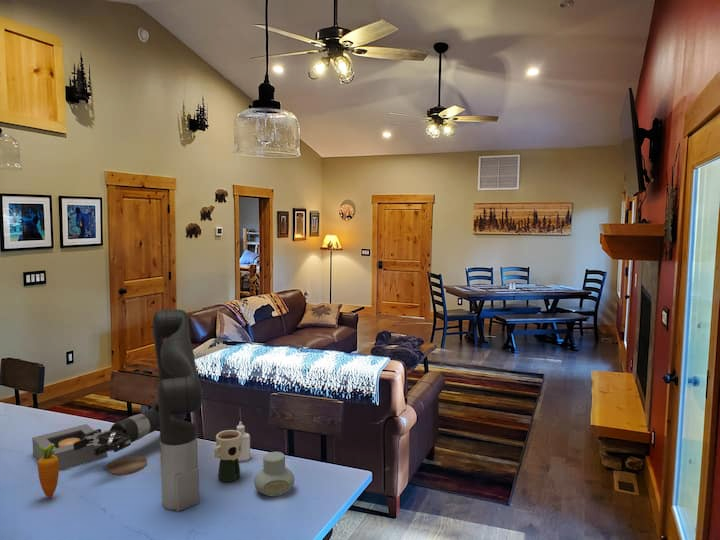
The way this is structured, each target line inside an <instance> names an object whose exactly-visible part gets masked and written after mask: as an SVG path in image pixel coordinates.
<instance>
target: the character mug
mask: <svg viewBox="0 0 720 540" xmlns="http://www.w3.org/2000/svg"><path fill="white" fill-rule="evenodd" d="M242 443H243V439H242V435H241V433H240V432H239V431H237V429H236V430H235V429H226V430H222V431H219V432H218V433H217V434H216V436H215V447H214V458H215V459H219V464H218V466H219V467H218V474H217V478H218V479H220V480H222V481H224V482H233V481H236V480H237V477H238V478H240V477H241V467H240V462H239V460H238V458H239V457H240V455H241V453H242V446H241V445H242Z"/></svg>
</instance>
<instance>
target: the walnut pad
mask: <svg viewBox="0 0 720 540" xmlns="http://www.w3.org/2000/svg"><path fill="white" fill-rule="evenodd" d="M147 465H148V460H147V458H146V457H145V456H142V455H128V456H122V457H120V458H119V457H118V458H117V459H114V460H112V461H111V462H109V463H108V464H107V472H108V473H109V474H110V473H111V475H115V476H124V475H131V474H134V473H137V472H140V471H141V470H144V469H145V468H146V467H147ZM144 467H145V468H144Z"/></svg>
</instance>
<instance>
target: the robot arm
mask: <svg viewBox="0 0 720 540" xmlns="http://www.w3.org/2000/svg"><path fill="white" fill-rule="evenodd" d="M152 332H153V334H152V335H153V342H154V351H155V356H156V363H157V370H158V387H157V402H156V403H155V404H154V405H152V406H151V407H150V408H149V409H148V410H145V411H143V412H140V413H138V414H135V415H132V416H129V417H127V418H123V419H122V420H119V421H116V422H114V423H113V424H112V426H111V427H110V429H108V430H104V431H102V429H101V428H97V429H94V430H95V431H92V432H89V433H87V434H84V435H82V440H80V441H77V442H75V443H74V444H73V448H74V450H79V449H81V448H83V447H86V446H88V445H94V446H98V445H101V446H99V447H96V448H95V449H94V455H95V456H98V455H101V454H103V453H105V452H107V453H109V452H113V453H117V452H119V451H122V450H124V449H125V448H127V447H129V446H131V444H132V443H134V442H136V441H138V440H140V439H142V438H143V437H145V436H147V435H149V434H151V433H153V432H155V431H157V430H159V445H160V446H159V447H160V448H159V449H160V481H161V483H160V486H161V506H162V507H163V508H164V509H167V510H171V511H176V512H180V511H183V510H185V509H188V508H190V507H192V506H195V505H197V504H199V503H200V473H199V471H200V469H199V460H198V459H199V458H198V453H199V451H198V428H197V425H196V424H195V423H194V422H190V421H187V420H185V418H186V414H189V413H193V412H197V411H198V410H199V409H200V408H201V407H202V403H203V396H204V395H203V389H202V385H201V380H200V378H199V374H198V371H197V369H196V361H195V354H194V348H193V345H192V341H191V335H190V333H191V332H190V323H189V316H188V313H187V312H186V311H185V310H183V309H165V310H163V309H162V310H157V311H155V312H154V314H153V317H152ZM165 339H166V340H165ZM96 439H99V442H96ZM93 440H94V441H93ZM91 441H93V442H91Z"/></svg>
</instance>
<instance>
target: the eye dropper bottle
mask: <svg viewBox="0 0 720 540" xmlns="http://www.w3.org/2000/svg"><path fill="white" fill-rule="evenodd" d="M245 429H246V428H245V425H243V422H242V421H239V423H238V425H237V426H236V430H237V431H239V432H240V433H241V435H242V439H243V443H242V445H241V446H242V453H241V455H240V457H239V458H238V460H239V463H240V462H246V461H249V460H250V459H251V435H250V434H249V433H248V432H246V431H245Z"/></svg>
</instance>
